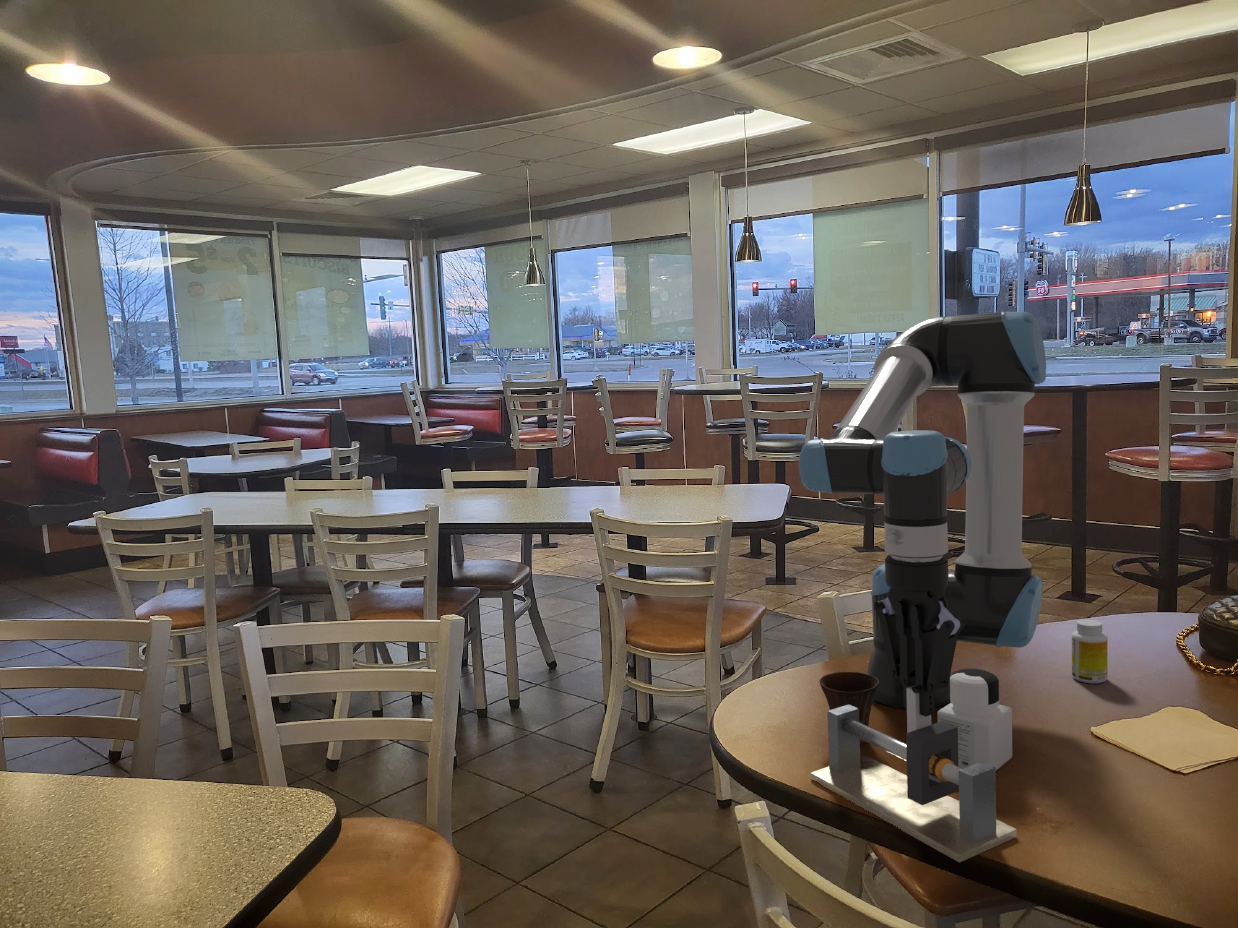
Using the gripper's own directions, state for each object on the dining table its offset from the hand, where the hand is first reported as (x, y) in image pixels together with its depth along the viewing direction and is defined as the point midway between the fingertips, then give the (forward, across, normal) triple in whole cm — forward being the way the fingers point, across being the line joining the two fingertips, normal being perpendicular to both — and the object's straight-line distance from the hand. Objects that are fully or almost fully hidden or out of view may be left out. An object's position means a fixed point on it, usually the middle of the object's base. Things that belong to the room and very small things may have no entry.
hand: (919, 736), depth 117 cm
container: (+11, -7, +18) cm, 22 cm away
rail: (+11, -3, 0) cm, 11 cm away
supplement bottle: (+11, -17, +59) cm, 62 cm away
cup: (+11, -23, +9) cm, 27 cm away
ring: (+7, +2, 0) cm, 7 cm away
